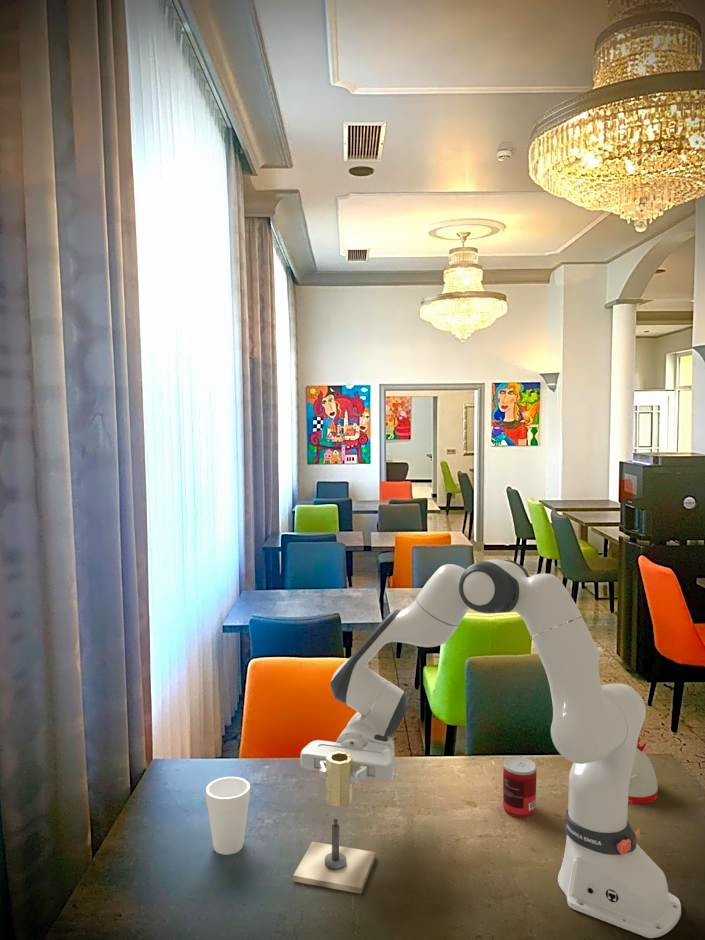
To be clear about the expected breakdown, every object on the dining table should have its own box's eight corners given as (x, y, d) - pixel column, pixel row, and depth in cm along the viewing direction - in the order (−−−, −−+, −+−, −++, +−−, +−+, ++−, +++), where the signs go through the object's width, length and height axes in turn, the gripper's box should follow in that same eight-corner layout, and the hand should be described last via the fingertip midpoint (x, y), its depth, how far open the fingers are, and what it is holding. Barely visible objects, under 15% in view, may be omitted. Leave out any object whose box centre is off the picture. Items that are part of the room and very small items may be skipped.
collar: (353, 795, 146) (354, 753, 145) (347, 808, 141) (347, 764, 141) (330, 791, 147) (331, 750, 147) (323, 804, 142) (324, 761, 142)
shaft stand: (375, 857, 148) (375, 809, 148) (361, 893, 137) (361, 842, 136) (312, 846, 152) (312, 800, 151) (293, 881, 140) (293, 830, 140)
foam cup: (197, 850, 150) (196, 791, 150) (224, 829, 159) (223, 773, 158) (232, 863, 146) (232, 803, 145) (259, 840, 154) (258, 783, 153)
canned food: (532, 801, 171) (533, 757, 171) (538, 819, 163) (539, 773, 163) (500, 799, 172) (501, 755, 171) (504, 817, 164) (505, 771, 163)
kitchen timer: (602, 771, 187) (603, 715, 186) (658, 782, 181) (660, 725, 180) (595, 795, 174) (597, 736, 173) (655, 809, 168) (657, 747, 167)
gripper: (311, 728, 159) (289, 756, 145) (400, 740, 153) (386, 770, 140) (311, 755, 159) (289, 785, 146) (399, 768, 154) (385, 800, 141)
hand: (337, 778), depth 143 cm, fingers closed on collar, 5 cm apart
